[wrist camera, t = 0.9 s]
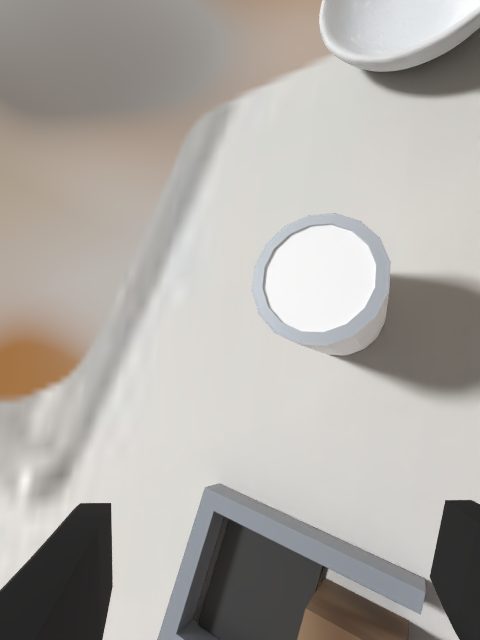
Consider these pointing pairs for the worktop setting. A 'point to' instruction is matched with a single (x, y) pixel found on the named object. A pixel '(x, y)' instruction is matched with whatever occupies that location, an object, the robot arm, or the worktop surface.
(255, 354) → the worktop surface
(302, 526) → the grey shallow rectangular tray
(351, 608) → the block
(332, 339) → the white cylinder
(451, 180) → the worktop surface
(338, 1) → the spoon rest
